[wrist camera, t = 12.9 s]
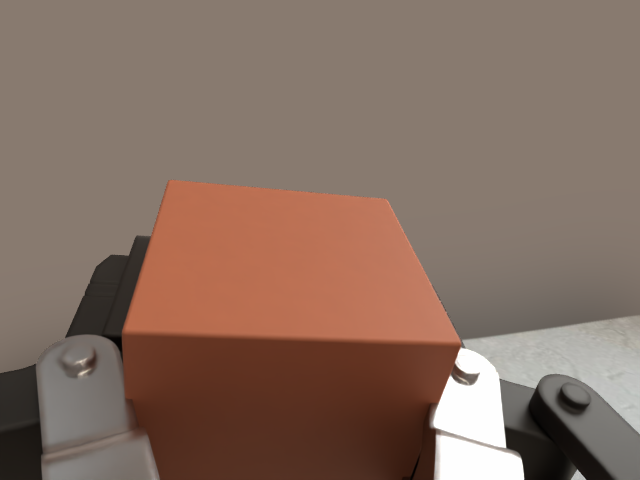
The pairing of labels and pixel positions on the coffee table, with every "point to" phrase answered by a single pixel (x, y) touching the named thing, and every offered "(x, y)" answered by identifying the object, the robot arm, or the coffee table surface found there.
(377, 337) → the top block
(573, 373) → the coffee table surface
